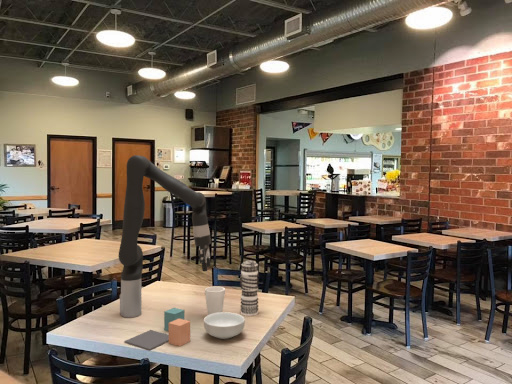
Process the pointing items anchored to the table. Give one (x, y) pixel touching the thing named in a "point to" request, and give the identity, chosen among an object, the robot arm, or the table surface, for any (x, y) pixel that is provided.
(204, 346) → the table surface
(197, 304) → the table surface
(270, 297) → the table surface
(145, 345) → the charcoal mat
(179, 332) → the salmon pink cube
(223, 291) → the foam cup
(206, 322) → the cereal bowl
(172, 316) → the seafoam square box
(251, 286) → the decorative candle
